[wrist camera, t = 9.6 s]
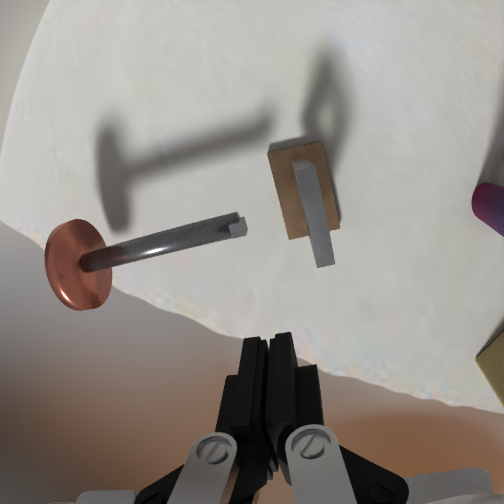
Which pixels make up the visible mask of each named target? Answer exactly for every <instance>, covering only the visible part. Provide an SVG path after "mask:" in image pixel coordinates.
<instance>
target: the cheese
mask: <svg viewBox="0 0 504 504" xmlns="http://www.w3.org/2000/svg"><path fill="white" fill-rule="evenodd" d="M476 363H477V364H478V366H479V367H480V369H481V371H482V372H483V374H484V376H485V377H486V379H487V380H488V382H489V384H490V385H491V387H492V389H493V390H494V392H495V394H496V395H497V397H498V399H499V400H500V402H501V404H502V405H503V407H504V331H503V332H502V333H501V334H500V335H499V336H498V337H497V338H496V339H495V340H494V341H493V342H492V343H491V344H490V345H489V346H488V347H487V348H486V349H485V350H484V351H483V352H482V353H481V354H480V355H479V356H478V357H477V358H476Z"/></svg>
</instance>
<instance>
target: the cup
mask: <svg viewBox="0 0 504 504" xmlns="http://www.w3.org/2000/svg"><path fill="white" fill-rule="evenodd" d="M472 210H473V212H474V214H475V216H476V217H477V218H479V219H480V220H482V221H483V222H484V223H486V224H487V225H488V226H490V227H491V228H493V229H494V230H495V231H497V232H498V233H499V234H500V235H502V236H503V237H504V187H502V186H498V185H495V184H491V183H483V184H481V185H479V186H478V187H477V188H476V190H475V192H474V194H473V197H472Z"/></svg>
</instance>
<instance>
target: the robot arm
mask: <svg viewBox="0 0 504 504" xmlns="http://www.w3.org/2000/svg"><path fill="white" fill-rule="evenodd" d="M279 465H280V467H281V470H282V472H283V475H284V477H285V480H286V482H287V483H288V484H289V485H291V486H292V489H293V494H294V500H295V504H504V494H499V493H493V490H492V480H491V477H490V474H489V473H488V472H487V471H486V470H484V469H482V468H479V467H472V468H466V469H460V470H453V471H446V472H438V473H429V474H418V475H415V477H410V478H402V477H400V476H399V475H397V474H395V473H393V472H390V471H388V470H386V469H384V468H382V467H380V466H378V465H376V464H374V463H372V462H370V461H368V460H366V459H364V458H363V457H361V456H359V455H357V454H355V453H353V452H351V451H349V450H347V449H346V448H344V447H342V446H340V445H338V442H337V439H336V436H335V435H334V433H333V432H332V431H331V430H330V429H329V428H327V427H325V426H324V419H323V410H322V400H321V391H320V384H319V377H318V370H317V364H315V365H309V366H302V367H298V364H297V359H296V354H295V349H294V344H293V339H292V334H291V332H286V333H279V334H275V338H273V339H270V346H269V348H268V344H267V341H266V340H261V338H260V337H259V336H258V337H251V338H244V341H243V347H242V353H241V359H240V365H239V371H238V375H228V376H227V377H226V380H225V385H224V390H223V396H222V400H221V405H220V410H219V415H218V420H217V424H216V429H215V432H214V433H210V434H206V435H204V436H202V437H201V438H199V439H198V440H197V441H196V442H195V443H194V445H193V446H192V448H191V451H190V453H189V455H188V458H187V460H186V462H185V464H183V465H182V466H180V467H179V468H177V469H176V470H174V471H172V472H171V473H169V474H168V475H166V476H164V477H163V478H161V479H159V480H158V481H156V482H155V483H153V484H151V485H149V486H148V487H146V488H145V489H143V490H142V491H140V492H136V491H134V490H122V491H87V492H84V493H82V494H81V495H80V496H79V497H78V498H77V501H76V503H67V502H62V503H61V502H57V503H49V504H258V500H259V496H260V488H262V487H263V486H264V485H266V483H267V480H272V479H273V472H276V471H278V468H279Z"/></svg>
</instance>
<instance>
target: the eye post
mask: <svg viewBox="0 0 504 504" xmlns="http://www.w3.org/2000/svg"><path fill="white" fill-rule="evenodd" d="M267 155H268V159H269V163H270V167H271V170H272V174H273V178H274V182H275V186H276V190H277V194H278V198H279V202H280V205H281V209H282V213H283V217H284V222H285V226H286V230H287V234H288V238H289V240H291V239H296V238H300V237H304V236H309V238H310V242H311V246H312V250H313V254H314V257H315V261H316V265H317V268H320V267H325V266H329V265H334V264H335V260H334V254H333V249H332V244H331V238H330V233H329V231H331V230H336V229H340V225H339V219H338V214H337V209H336V204H335V199H334V194H333V189H332V184H331V180H330V175H329V170H328V166H327V162H326V157H325V153H324V149H323V144H322V141H318V142H314V143H309V144H304V145H300V146H295V147H291V148H287V149H282V150H278V151H274V152H270V153H267Z"/></svg>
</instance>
